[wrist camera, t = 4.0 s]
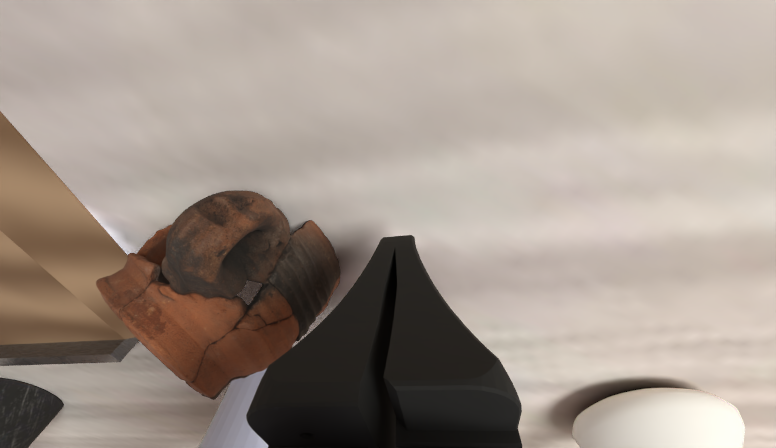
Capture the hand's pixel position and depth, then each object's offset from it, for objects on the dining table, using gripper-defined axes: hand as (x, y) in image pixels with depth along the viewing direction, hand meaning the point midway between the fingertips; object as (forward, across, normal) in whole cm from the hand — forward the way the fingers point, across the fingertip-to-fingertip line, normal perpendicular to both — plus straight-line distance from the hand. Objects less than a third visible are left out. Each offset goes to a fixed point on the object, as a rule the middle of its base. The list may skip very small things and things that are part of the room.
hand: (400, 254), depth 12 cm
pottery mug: (+3, +8, +1) cm, 9 cm away
